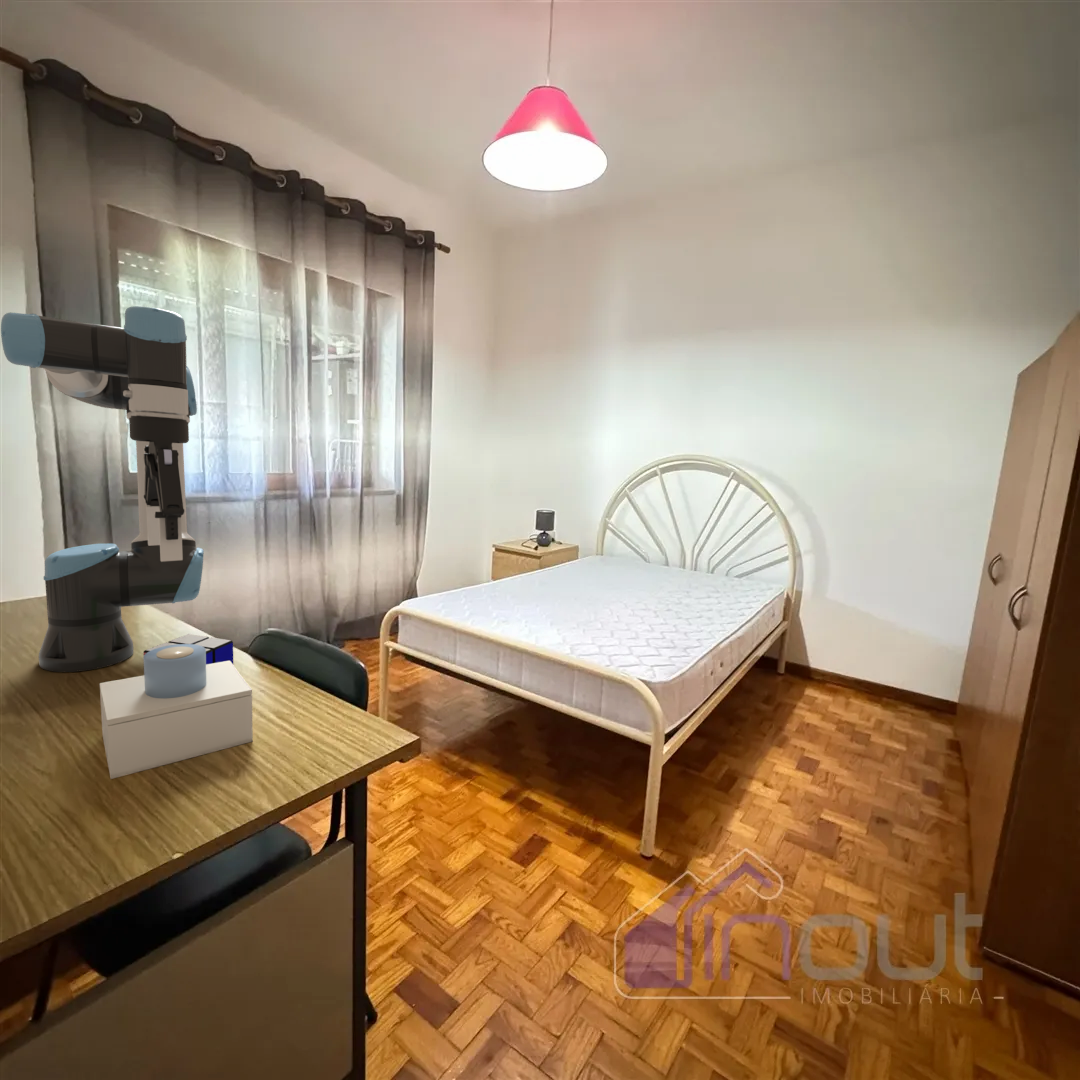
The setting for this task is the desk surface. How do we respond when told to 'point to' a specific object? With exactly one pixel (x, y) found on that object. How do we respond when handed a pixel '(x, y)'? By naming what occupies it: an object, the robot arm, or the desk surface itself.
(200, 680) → the blue domed cylinder
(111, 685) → the hinged white flap
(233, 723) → the carton
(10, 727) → the desk surface
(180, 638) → the puzzle cube
